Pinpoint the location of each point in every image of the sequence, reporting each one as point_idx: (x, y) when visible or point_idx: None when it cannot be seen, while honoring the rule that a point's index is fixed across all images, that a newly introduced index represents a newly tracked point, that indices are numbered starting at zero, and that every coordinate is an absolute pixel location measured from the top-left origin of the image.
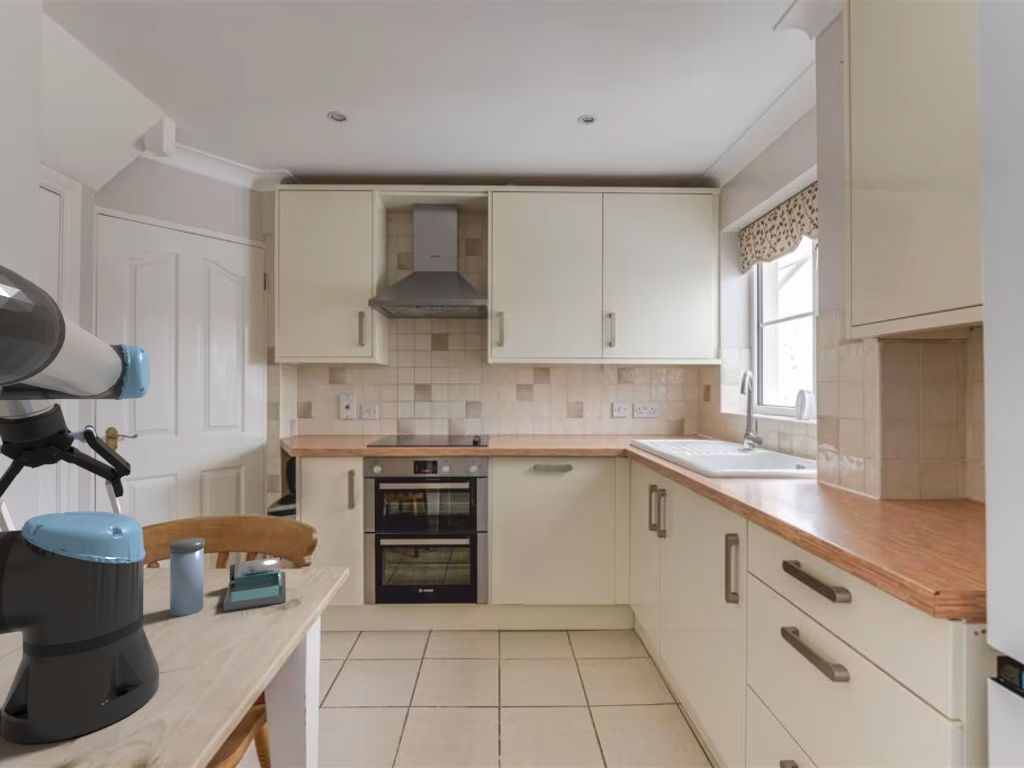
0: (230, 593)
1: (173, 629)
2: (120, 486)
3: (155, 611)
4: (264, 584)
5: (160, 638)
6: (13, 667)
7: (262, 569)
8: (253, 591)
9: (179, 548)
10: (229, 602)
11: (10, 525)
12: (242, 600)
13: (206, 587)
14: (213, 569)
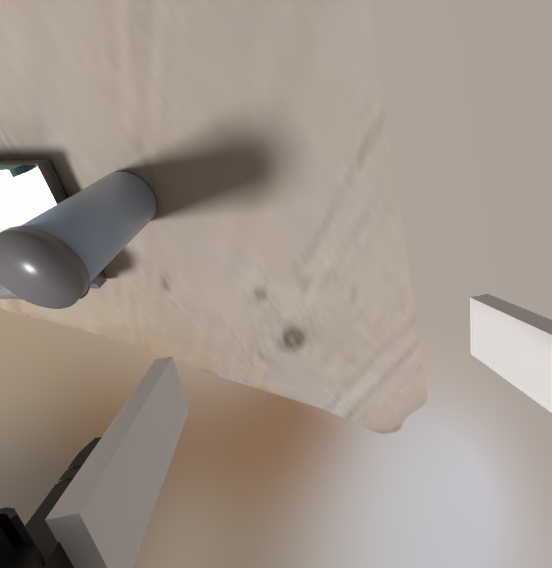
0: None
1: (110, 107)
2: (49, 494)
3: (189, 222)
4: None
5: (112, 60)
6: (362, 16)
7: None
8: None
9: (25, 233)
10: (27, 165)
11: (521, 356)
12: (4, 165)
13: (149, 294)
14: None
